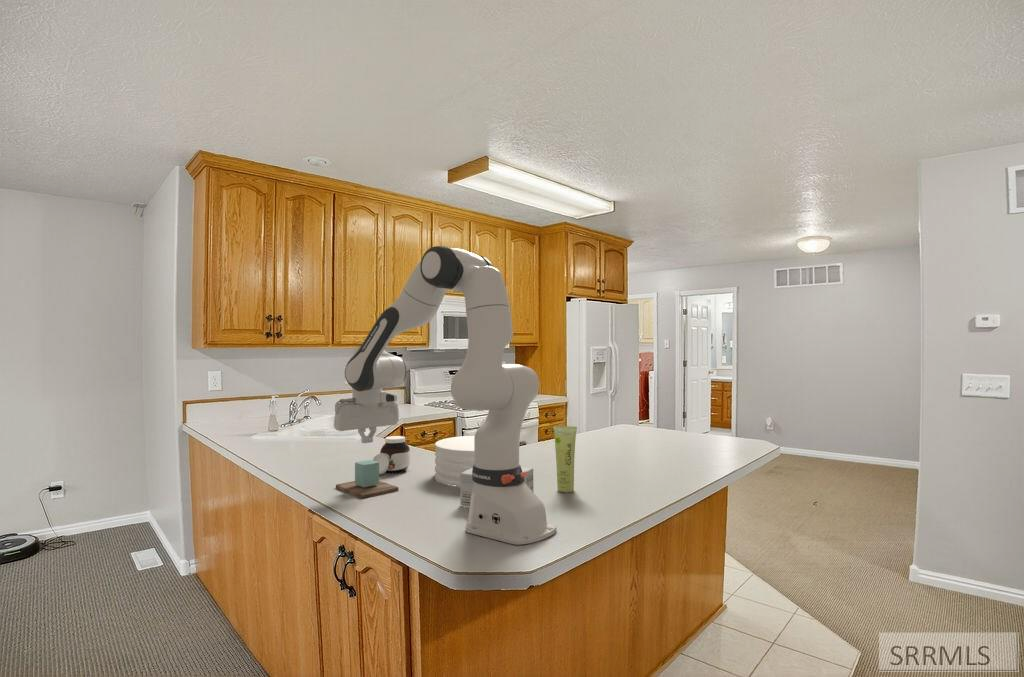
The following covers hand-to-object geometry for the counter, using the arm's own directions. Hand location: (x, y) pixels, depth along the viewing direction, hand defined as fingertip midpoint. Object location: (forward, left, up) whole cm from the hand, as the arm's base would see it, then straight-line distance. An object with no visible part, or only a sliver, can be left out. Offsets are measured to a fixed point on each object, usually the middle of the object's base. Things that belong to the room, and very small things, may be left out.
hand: (367, 442), depth 159 cm
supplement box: (-38, -19, -15) cm, 45 cm away
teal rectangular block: (0, 0, -13) cm, 13 cm away
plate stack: (-11, -34, -14) cm, 39 cm away
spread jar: (+14, -17, -14) cm, 26 cm away
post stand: (0, 0, -14) cm, 14 cm away
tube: (-43, -42, -14) cm, 62 cm away
